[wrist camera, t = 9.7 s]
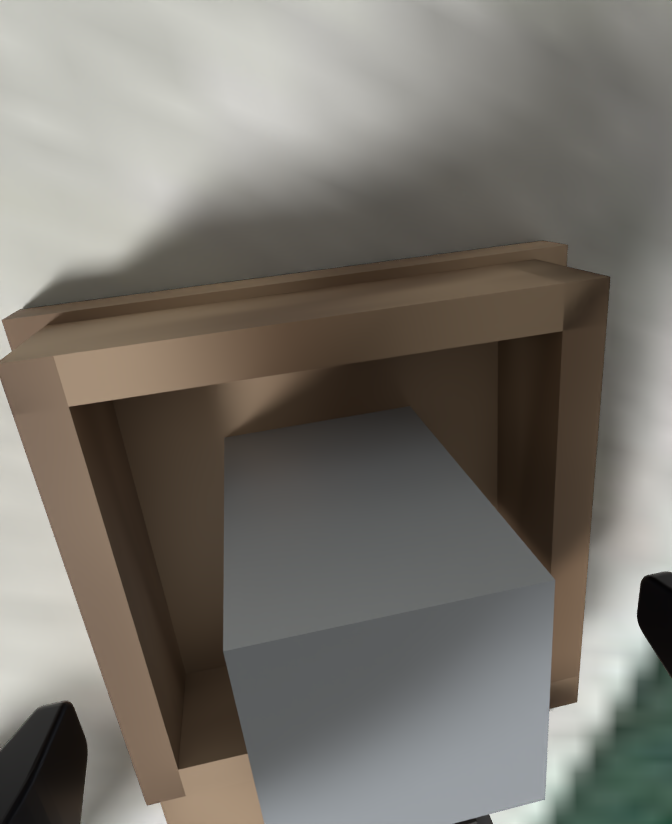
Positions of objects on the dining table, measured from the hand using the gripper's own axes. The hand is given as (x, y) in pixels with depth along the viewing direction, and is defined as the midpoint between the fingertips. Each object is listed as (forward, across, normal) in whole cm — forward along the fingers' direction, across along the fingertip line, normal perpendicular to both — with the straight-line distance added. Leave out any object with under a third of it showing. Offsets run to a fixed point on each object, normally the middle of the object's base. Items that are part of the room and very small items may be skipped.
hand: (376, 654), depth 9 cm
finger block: (+4, 0, 0) cm, 5 cm away
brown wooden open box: (+6, 0, +2) cm, 6 cm away
